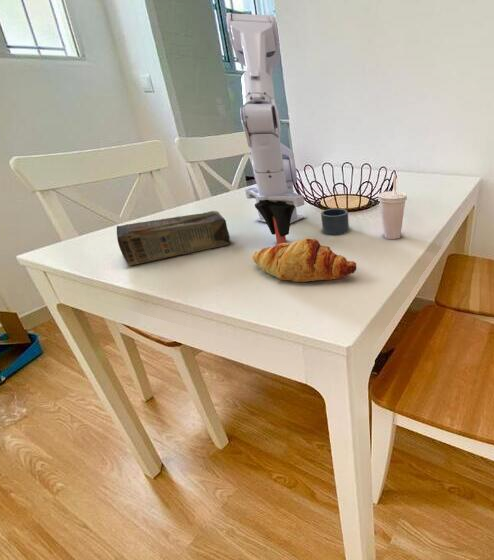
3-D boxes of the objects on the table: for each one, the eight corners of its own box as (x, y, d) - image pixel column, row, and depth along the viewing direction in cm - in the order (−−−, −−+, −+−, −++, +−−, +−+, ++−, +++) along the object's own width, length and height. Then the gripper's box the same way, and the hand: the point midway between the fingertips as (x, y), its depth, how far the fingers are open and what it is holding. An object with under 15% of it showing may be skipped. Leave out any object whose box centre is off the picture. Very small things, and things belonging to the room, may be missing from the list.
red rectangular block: (275, 243, 76) (270, 217, 73) (281, 240, 77) (277, 214, 74) (281, 244, 75) (277, 218, 72) (288, 241, 76) (284, 215, 74)
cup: (317, 232, 82) (315, 214, 80) (333, 224, 87) (331, 207, 84) (338, 236, 79) (337, 217, 77) (353, 228, 84) (352, 210, 82)
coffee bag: (233, 245, 75) (225, 215, 72) (127, 268, 65) (113, 236, 62) (224, 234, 80) (217, 207, 77) (125, 255, 70) (112, 224, 67)
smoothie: (403, 242, 76) (404, 178, 70) (375, 240, 77) (373, 176, 71) (408, 232, 82) (409, 172, 75) (382, 230, 83) (381, 170, 76)
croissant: (249, 287, 65) (226, 262, 59) (271, 247, 70) (252, 219, 64) (353, 301, 60) (340, 275, 53) (368, 256, 65) (359, 227, 59)
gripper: (228, 170, 69) (242, 234, 75) (282, 177, 63) (292, 246, 69) (255, 165, 74) (266, 224, 80) (307, 170, 68) (315, 235, 75)
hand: (280, 234), depth 75 cm, fingers closed on red rectangular block, 2 cm apart
